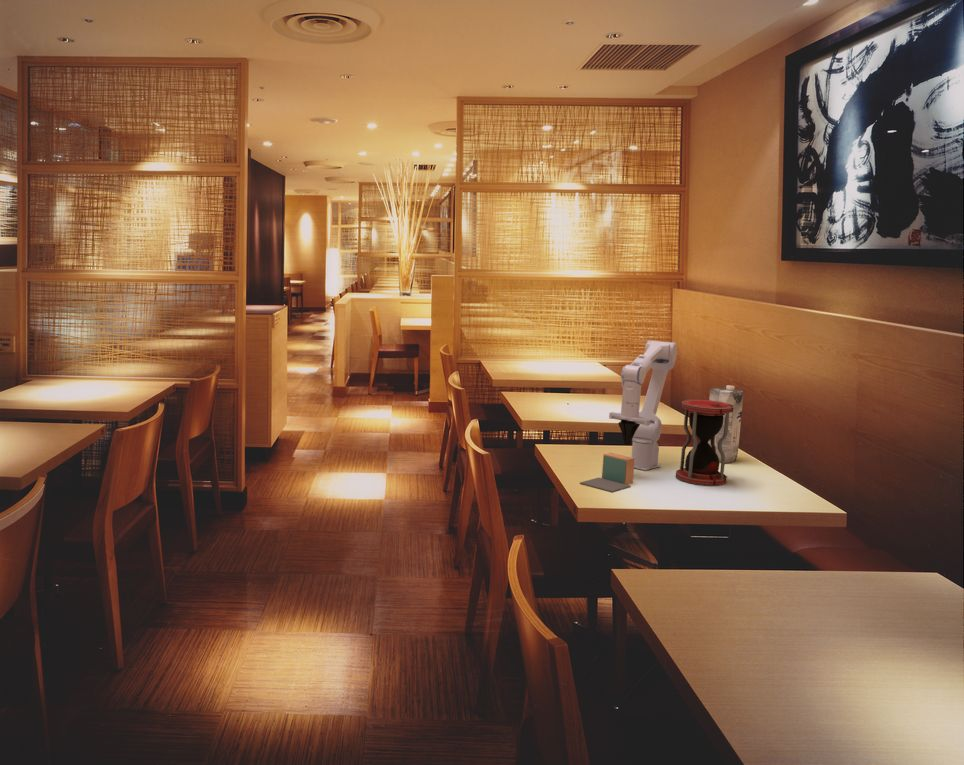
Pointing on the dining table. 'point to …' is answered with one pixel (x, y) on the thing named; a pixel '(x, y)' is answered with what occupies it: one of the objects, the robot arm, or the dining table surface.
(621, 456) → the orange rectangular block
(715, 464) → the hourglass
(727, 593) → the dining table surface
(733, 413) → the juice carton
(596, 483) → the charcoal mat
